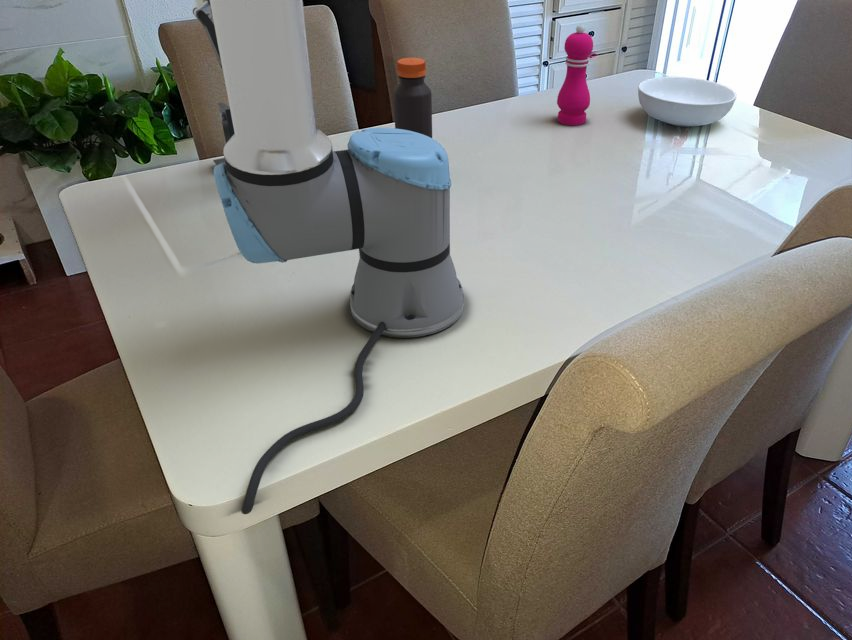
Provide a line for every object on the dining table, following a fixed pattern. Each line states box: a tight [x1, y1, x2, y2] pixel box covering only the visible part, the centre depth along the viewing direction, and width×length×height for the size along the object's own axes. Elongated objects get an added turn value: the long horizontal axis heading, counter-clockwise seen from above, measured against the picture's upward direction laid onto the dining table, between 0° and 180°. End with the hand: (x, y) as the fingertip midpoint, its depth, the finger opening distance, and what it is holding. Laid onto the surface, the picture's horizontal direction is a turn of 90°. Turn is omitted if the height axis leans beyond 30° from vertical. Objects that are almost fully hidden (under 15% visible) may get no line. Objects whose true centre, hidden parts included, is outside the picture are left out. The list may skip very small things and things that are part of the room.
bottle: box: [392, 57, 433, 139], centre depth 127 cm, size 7×7×20 cm
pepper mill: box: [556, 24, 594, 126], centre depth 151 cm, size 7×7×20 cm
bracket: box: [213, 101, 235, 165], centre depth 128 cm, size 12×9×13 cm
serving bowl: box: [637, 76, 737, 128], centre depth 156 cm, size 21×21×7 cm
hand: (254, 115), depth 116 cm, fingers closed
